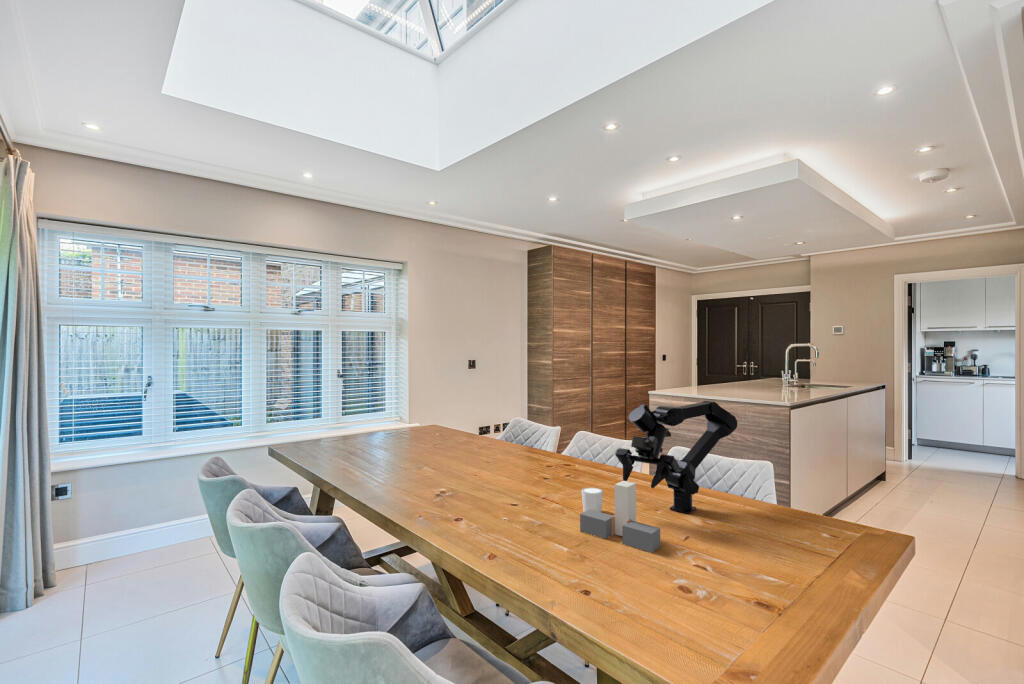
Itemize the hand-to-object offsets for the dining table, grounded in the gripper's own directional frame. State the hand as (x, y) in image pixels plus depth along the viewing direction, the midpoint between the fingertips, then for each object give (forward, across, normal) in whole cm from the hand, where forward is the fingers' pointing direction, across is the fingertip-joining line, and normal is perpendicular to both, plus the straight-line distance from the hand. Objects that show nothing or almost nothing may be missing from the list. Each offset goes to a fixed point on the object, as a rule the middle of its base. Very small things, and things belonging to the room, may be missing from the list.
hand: (637, 484), depth 141 cm
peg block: (+14, 0, +2) cm, 15 cm away
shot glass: (+8, -17, +9) cm, 21 cm away
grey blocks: (+17, 0, 0) cm, 17 cm away
